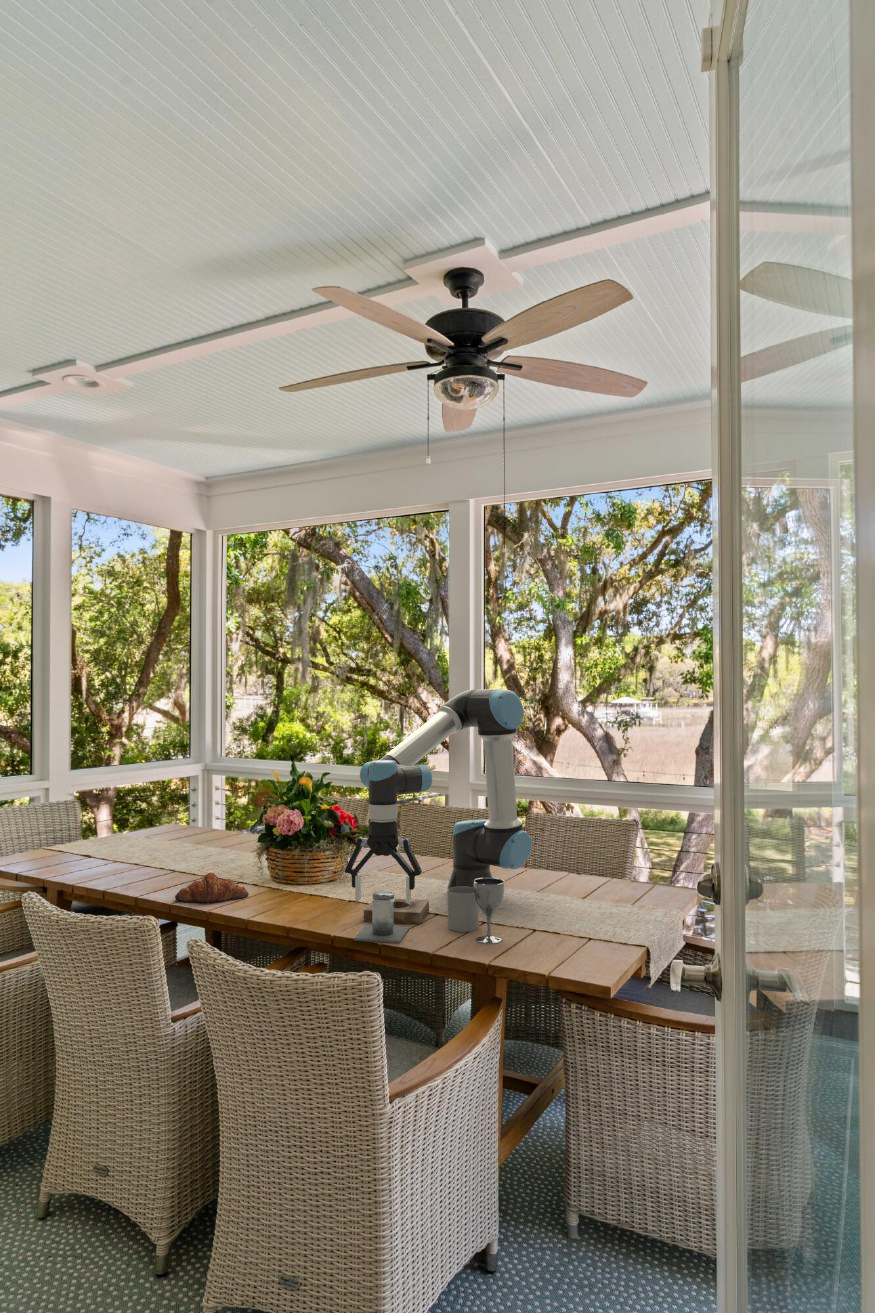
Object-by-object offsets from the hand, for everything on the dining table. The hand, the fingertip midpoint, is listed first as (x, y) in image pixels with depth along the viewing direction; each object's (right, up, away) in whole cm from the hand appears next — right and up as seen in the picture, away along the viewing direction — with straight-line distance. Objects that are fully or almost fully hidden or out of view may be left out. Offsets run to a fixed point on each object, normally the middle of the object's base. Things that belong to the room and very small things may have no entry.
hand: (383, 901), depth 218 cm
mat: (0, -9, -1) cm, 9 cm away
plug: (0, -8, -1) cm, 8 cm away
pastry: (-55, -10, +36) cm, 66 cm away
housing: (+3, -10, +18) cm, 21 cm away
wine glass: (+28, -9, -4) cm, 29 cm away
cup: (+21, -9, +7) cm, 24 cm away
